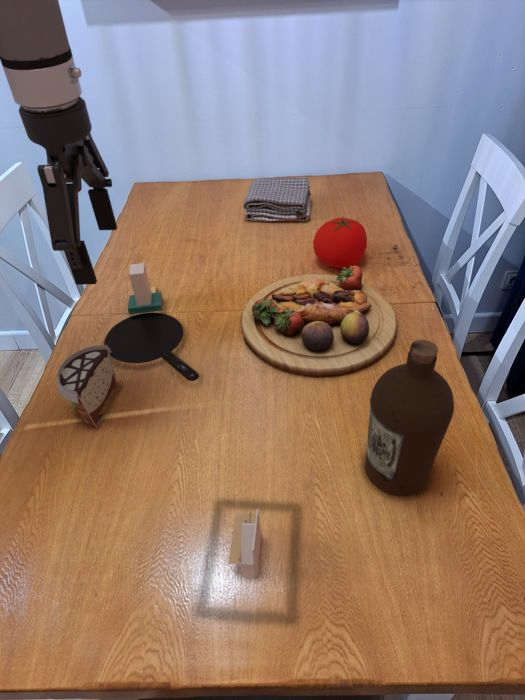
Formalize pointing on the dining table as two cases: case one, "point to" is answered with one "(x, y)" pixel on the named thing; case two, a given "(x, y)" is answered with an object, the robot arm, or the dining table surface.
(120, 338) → the pan
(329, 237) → the tomato
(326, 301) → the wooden plate
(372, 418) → the brown bottle
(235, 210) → the dining table surface
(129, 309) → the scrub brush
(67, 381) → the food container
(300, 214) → the towel
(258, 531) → the architectural model
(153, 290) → the tan square block
